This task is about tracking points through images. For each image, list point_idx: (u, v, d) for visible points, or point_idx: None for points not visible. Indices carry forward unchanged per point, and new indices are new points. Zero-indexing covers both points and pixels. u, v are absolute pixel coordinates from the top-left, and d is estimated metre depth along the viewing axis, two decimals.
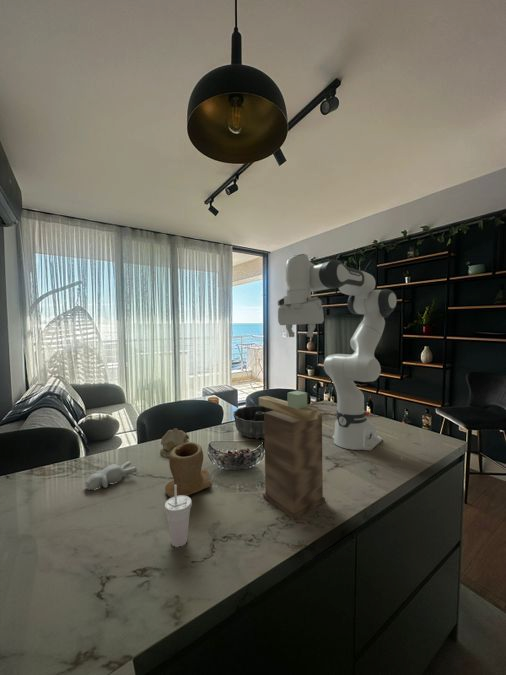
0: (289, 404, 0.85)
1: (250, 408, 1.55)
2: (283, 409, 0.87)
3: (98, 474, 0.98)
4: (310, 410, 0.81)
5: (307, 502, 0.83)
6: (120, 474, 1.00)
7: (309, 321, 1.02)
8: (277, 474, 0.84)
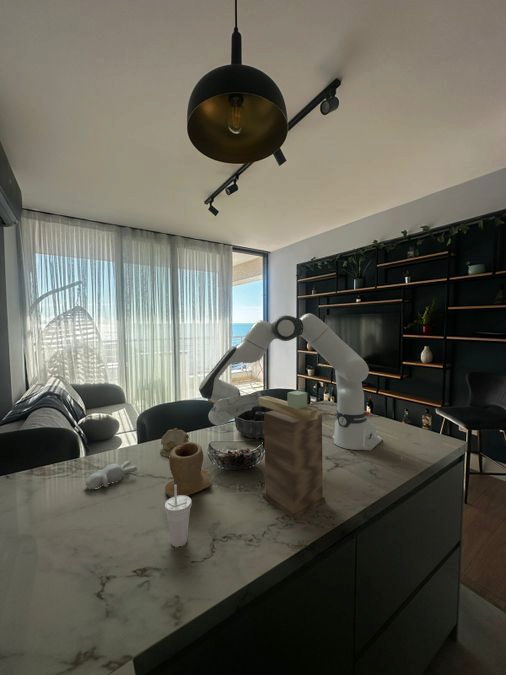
0: (289, 404, 0.85)
1: None
2: (283, 409, 0.87)
3: (98, 473, 0.98)
4: (310, 410, 0.81)
5: (307, 502, 0.83)
6: (120, 473, 1.00)
7: (228, 407, 1.10)
8: (277, 474, 0.84)
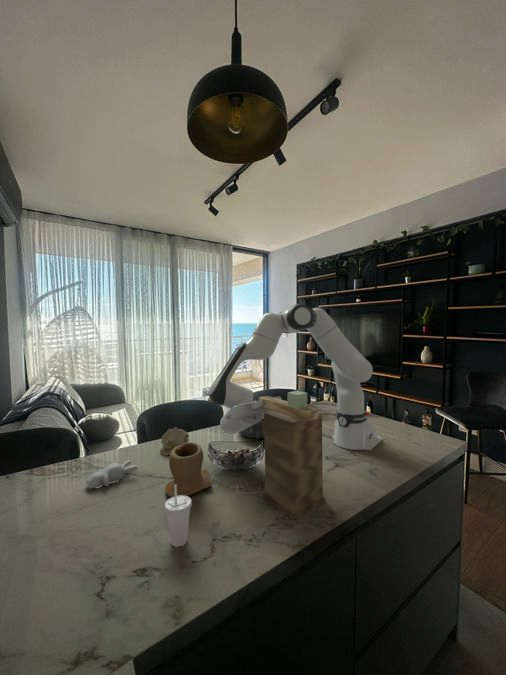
0: (289, 404, 0.85)
1: None
2: (283, 409, 0.87)
3: (99, 473, 0.98)
4: (310, 410, 0.81)
5: (307, 502, 0.83)
6: (121, 473, 1.01)
7: (246, 414, 0.95)
8: (277, 474, 0.84)
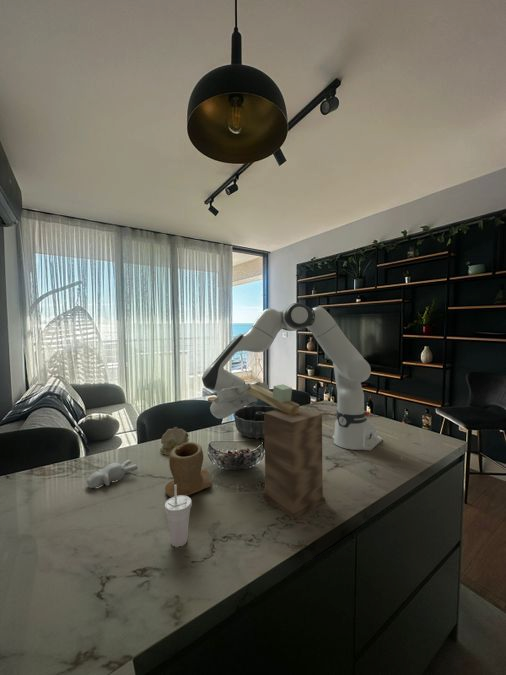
0: (274, 397, 0.90)
1: (250, 408, 1.55)
2: (268, 400, 0.93)
3: (99, 472, 0.99)
4: (292, 405, 0.86)
5: (307, 502, 0.83)
6: (122, 472, 1.01)
7: (232, 397, 1.01)
8: (277, 474, 0.84)
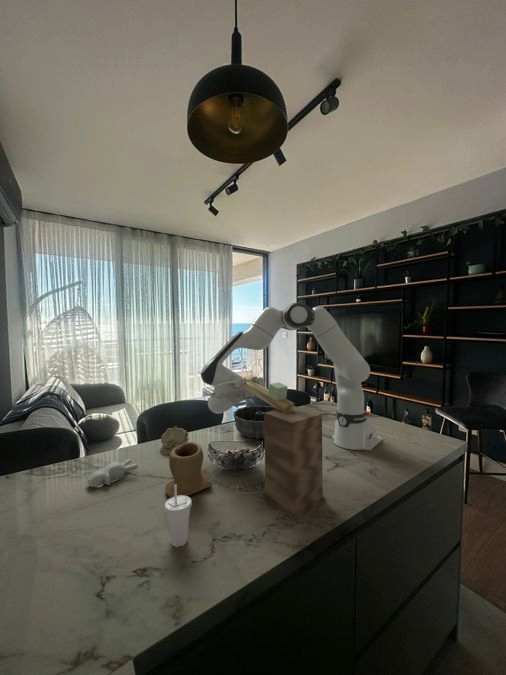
0: (270, 394, 0.92)
1: (250, 408, 1.55)
2: (264, 397, 0.95)
3: (100, 472, 0.99)
4: (287, 403, 0.88)
5: (307, 502, 0.83)
6: (122, 471, 1.02)
7: (229, 392, 1.03)
8: (277, 474, 0.84)
